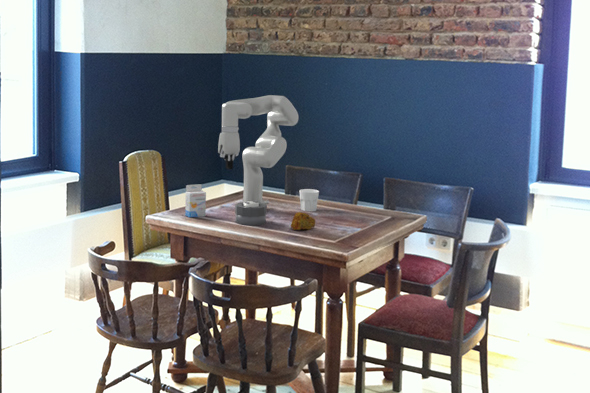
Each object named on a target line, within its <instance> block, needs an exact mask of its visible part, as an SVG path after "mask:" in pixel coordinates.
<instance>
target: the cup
mask: <svg viewBox="0 0 590 393" xmlns="http://www.w3.org/2000/svg"><path fill="white" fill-rule="evenodd" d="M319 194H320V191H319V190H317V189H314V188H313V189H312V188H304V189H299V200H300V201H299V202H300V203H299V205H300V211H304V212H310V211H311V212H317V208H318V201H319Z"/></svg>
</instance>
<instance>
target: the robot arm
mask: <svg viewBox="0 0 590 393" xmlns="http://www.w3.org/2000/svg"><path fill="white" fill-rule="evenodd" d="M264 114H267V116H266V119H267V120H266V122H267V123H266V126H267V128H266V129H265V131H264V132H263V133H262V134H261V135H260V136H259V138H258V139H257V140H256V141H255V144H254V145H255V146H247V147H246V148H244V150H243V151H242V165H243V196H242V197H243V198H242V202H247V201H254V200H255V201H258V203H263V204H266V205H269V204H270V201H269V200H264V199H263V186H264V174H263V171H262V169H261V168H264V169H267V168H268V169H270V168H273V167H275V165H276V164H277V163H278V161H280V159H281V158H282V157H283V156H284V154H286V150H287V143H288V142H287V140H286V139H285V137H283V136H282V132H281V131H282V130H280V126H287V127H288V126H290V127H293V126H295V125H297V124H298V122H299V113H298V111H297V109H296V108H295V107H294V105H293V103H292V102H291V101H290V100H289V99H288V98H287V97H286V96H285V95H275V94H274V95H272V94H269V95H264V96H259V97H253V98H243V99H242V98H241V99H235V100H229V101H227V102H225V103H222V105H221V132H220V133H219V137H218V144H217V146H218V148H217V153H218V154H219V157H220V158H223V159H224V161H225V169H226V170H233V168H234V166H233V164H234V160H235V158H236V157H237V156H239V153H240V149H241V147H240V146H241V142H240V133H239V130H240V128H239V119H243V120H246V119H249V118H250V117H251V116H260V115H264Z"/></svg>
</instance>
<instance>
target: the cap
mask: <svg viewBox="0 0 590 393" xmlns="http://www.w3.org/2000/svg"><path fill="white" fill-rule="evenodd" d="M244 206H246V207H257V206H259V203H258V201H255V200H254V201H247V202H244Z"/></svg>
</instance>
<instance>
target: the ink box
mask: <svg viewBox="0 0 590 393" xmlns="http://www.w3.org/2000/svg"><path fill="white" fill-rule="evenodd" d="M202 186H203V184H202V183H201V184H199V183H198V184H187V185H185V209H184V210H185V213H184V214H185V216H186V217H188V218H199V217H206V213H207V212H206V211H207V210H206V209H207V208H206V205H207V192H206V191H203V190H202Z"/></svg>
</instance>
